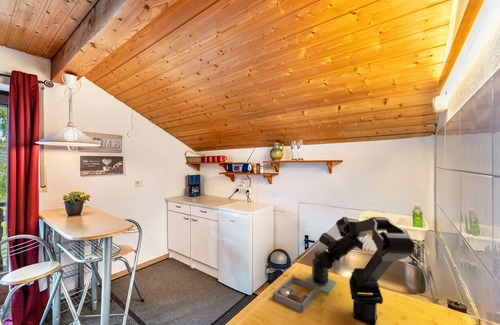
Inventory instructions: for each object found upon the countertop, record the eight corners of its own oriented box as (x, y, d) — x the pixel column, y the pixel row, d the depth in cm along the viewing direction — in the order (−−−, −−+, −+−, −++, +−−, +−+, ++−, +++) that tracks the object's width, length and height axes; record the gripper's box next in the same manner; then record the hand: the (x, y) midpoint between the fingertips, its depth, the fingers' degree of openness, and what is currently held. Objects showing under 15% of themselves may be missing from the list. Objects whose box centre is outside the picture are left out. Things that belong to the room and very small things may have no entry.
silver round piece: (292, 298, 86) (292, 290, 86) (287, 303, 83) (288, 295, 83) (283, 294, 89) (283, 286, 89) (278, 298, 86) (278, 291, 86)
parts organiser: (319, 291, 91) (319, 285, 91) (302, 312, 78) (302, 305, 78) (292, 281, 98) (292, 275, 98) (272, 299, 85) (273, 292, 85)
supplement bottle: (326, 277, 100) (326, 250, 100) (330, 285, 93) (330, 256, 93) (310, 276, 101) (311, 249, 101) (313, 284, 94) (313, 255, 94)
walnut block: (304, 303, 83) (305, 292, 83) (300, 308, 80) (300, 297, 80) (295, 299, 86) (295, 288, 86) (290, 304, 83) (290, 293, 83)
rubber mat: (336, 282, 98) (336, 281, 98) (328, 294, 89) (328, 292, 89) (312, 274, 105) (312, 273, 105) (302, 284, 96) (302, 283, 96)
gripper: (337, 224, 102) (314, 242, 109) (323, 233, 87) (297, 254, 94) (356, 245, 97) (330, 263, 104) (344, 259, 82) (315, 279, 89)
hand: (318, 264), depth 98 cm, fingers closed on supplement bottle, 7 cm apart
